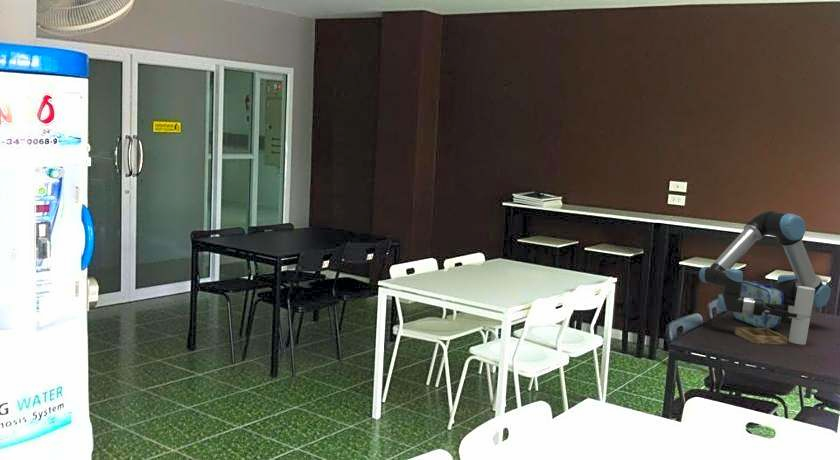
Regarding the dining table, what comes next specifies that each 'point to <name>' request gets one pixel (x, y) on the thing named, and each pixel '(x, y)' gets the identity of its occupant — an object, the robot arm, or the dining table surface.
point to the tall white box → (801, 306)
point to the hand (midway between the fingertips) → (804, 313)
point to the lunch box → (768, 296)
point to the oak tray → (761, 335)
